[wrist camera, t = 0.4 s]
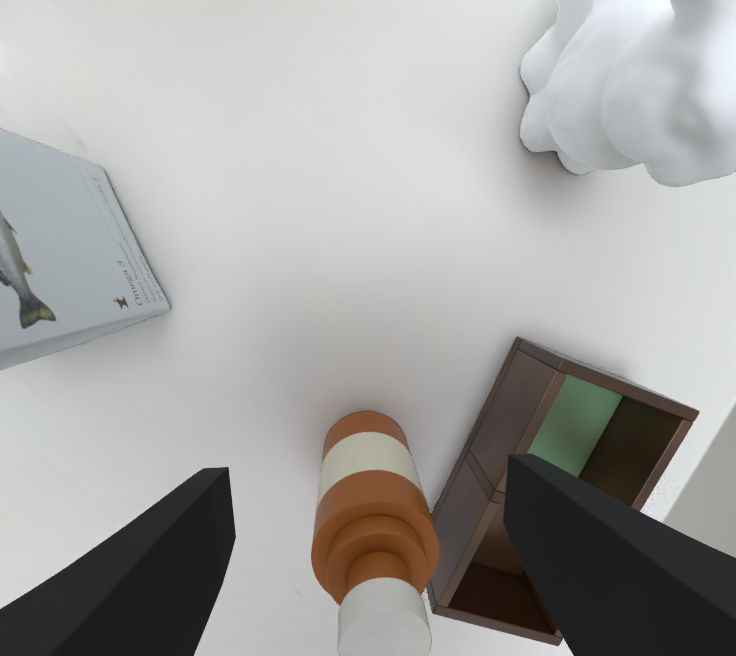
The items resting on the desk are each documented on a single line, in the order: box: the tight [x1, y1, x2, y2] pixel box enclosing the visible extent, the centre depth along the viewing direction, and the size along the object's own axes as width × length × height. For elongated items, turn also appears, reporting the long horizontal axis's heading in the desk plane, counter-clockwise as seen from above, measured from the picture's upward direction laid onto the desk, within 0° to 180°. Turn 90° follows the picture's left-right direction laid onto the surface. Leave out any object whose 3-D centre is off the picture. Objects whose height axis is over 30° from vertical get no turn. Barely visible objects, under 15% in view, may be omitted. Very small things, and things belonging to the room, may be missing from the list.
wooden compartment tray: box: [426, 337, 699, 646], centre depth 18 cm, size 14×8×4 cm, turn 159°
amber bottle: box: [311, 411, 439, 656], centre depth 15 cm, size 5×5×10 cm
